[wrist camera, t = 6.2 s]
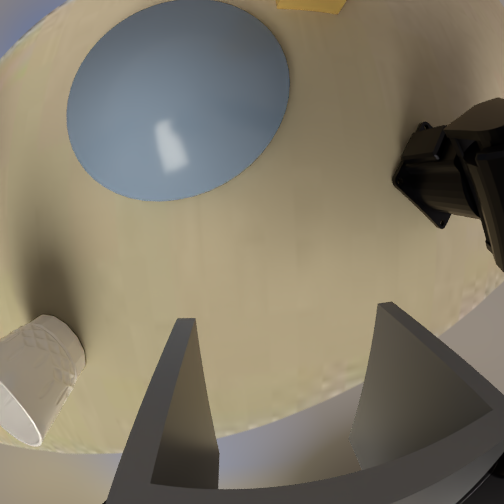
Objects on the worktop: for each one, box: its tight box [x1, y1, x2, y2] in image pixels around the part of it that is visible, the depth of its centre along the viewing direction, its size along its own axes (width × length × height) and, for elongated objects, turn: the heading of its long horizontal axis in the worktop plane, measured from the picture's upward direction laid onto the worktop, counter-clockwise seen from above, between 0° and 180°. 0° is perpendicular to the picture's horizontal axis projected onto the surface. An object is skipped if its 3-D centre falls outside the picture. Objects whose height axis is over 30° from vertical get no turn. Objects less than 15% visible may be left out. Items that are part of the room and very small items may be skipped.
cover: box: [106, 302, 504, 504], centre depth 6 cm, size 7×7×7 cm
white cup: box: [0, 314, 86, 446], centre depth 15 cm, size 8×8×10 cm
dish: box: [67, 0, 290, 201], centre depth 15 cm, size 16×16×1 cm
